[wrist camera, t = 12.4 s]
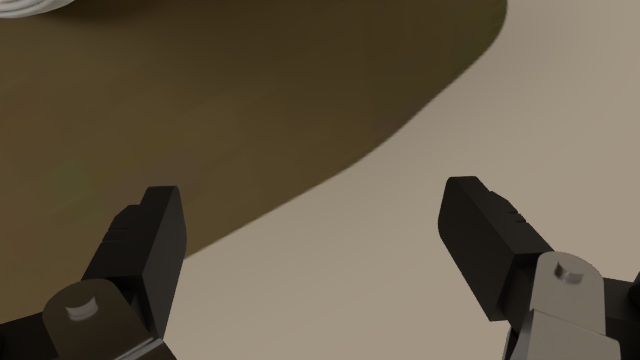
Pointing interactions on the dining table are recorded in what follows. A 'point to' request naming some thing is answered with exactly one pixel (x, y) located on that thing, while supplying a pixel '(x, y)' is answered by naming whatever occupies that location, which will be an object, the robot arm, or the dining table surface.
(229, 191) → the dining table surface
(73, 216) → the dining table surface
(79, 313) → the robot arm
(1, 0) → the cable
